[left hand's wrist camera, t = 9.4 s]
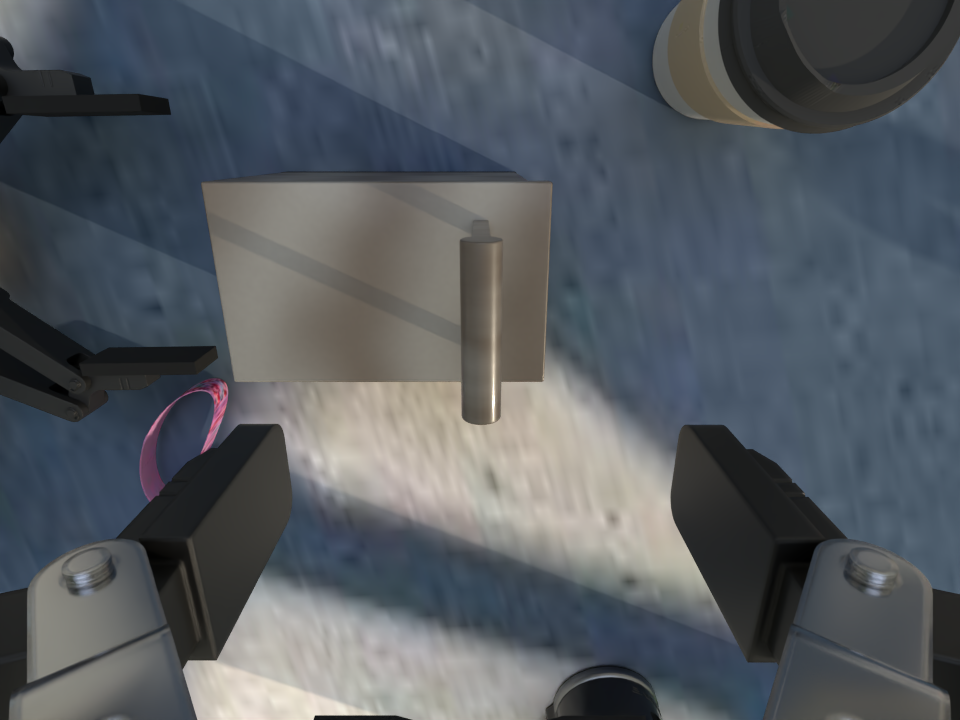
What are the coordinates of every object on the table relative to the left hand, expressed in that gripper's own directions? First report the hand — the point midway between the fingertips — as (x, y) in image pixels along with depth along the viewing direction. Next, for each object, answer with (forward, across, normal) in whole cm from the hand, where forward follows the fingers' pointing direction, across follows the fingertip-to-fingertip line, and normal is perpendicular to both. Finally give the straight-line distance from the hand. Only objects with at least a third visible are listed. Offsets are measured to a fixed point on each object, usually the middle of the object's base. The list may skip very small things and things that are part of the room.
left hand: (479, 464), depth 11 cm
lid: (+16, +5, 0) cm, 17 cm away
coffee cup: (+27, -14, -11) cm, 32 cm away
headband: (+27, +22, +14) cm, 38 cm away
